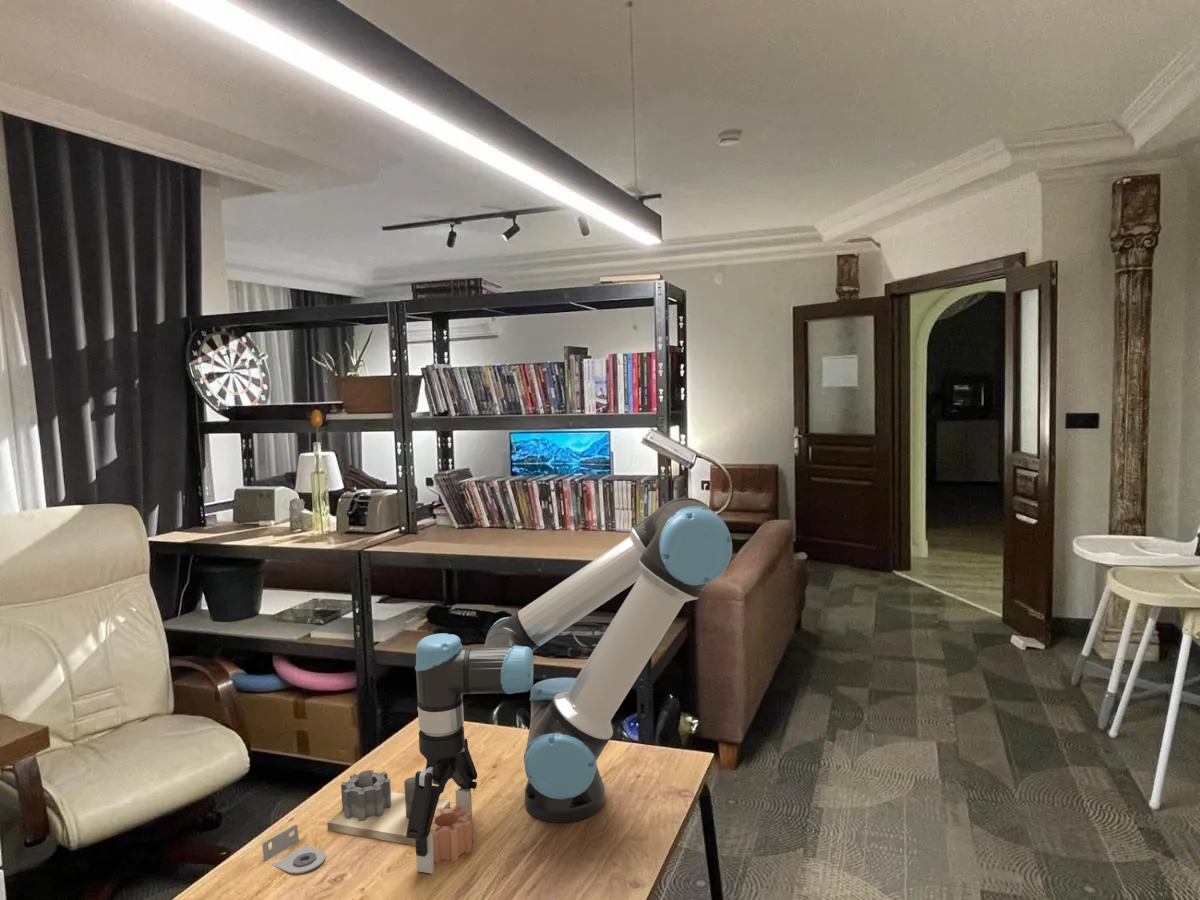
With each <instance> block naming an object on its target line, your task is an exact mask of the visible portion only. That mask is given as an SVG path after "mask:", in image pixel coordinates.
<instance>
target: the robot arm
mask: <svg viewBox="0 0 1200 900" xmlns="http://www.w3.org/2000/svg"><path fill="white" fill-rule="evenodd" d="M732 555H733V542H732V536H731V533H730V531H729V527H728V526H727V524H726V523H725V521H724V520H723V519H722V517H721V516H720V515H718V514H717V513H716V512H715V511H713V510H712V509H711V508H710V507H709V505H708V504H706V502H703V501H702V500H699V499H696V498H693V497H678V498H675V499H672V500H670V501H668V502H666V503H664V504H662V506H660V507H659V508H657V509H656V510H655V511H653V512H652V513H650V514H649V515H648V516H647V517H645V518H643V520H641V521H639V522H638V523H637V524H635V525H634V526H633V527H631V530H630V535H629V536H627V537H626V538H625V539H623V540H622V541H620V542H619V543H617V544H616V545H615V546H612V547H611V548H610V549H609V550H607V551H605V552H604V553H602V554H601V555H600V556H598V557H597V558H595V559H593V560H592V561H591V562H590V563H589V562H588V563H587V564H586V565H585V566H583V567H582V568H580V569H579V570H577V571H576V572H575V573H573V574H571V575H570V576H569V577H567V578H566V579H564V580H562V582H561V581H560V582H559V583H558V584H556V586H554V587H552V588H550V589H549V590H547V592H545V593H543V594H542V595H541V596H539V597H537V598H536V599H535V600H533V601H532V602H530V603H528V604H527V605H526V606H524V607H523V608H521V609H520V610H518V611H517V612H516V613H514V614H512V615H510V616H507V617H502V618H500V619H498V620H496V622H494V623H493V625H492V626H491V627H490V628H489V630H488V632H487V634H486V638H485V641H484V645H483V647H463V644H462V640H461V638H460V637H459V636H458V635H456V634H452V633H451V634H450V633H444V632H443V633H434V634H430V635H427V636H424V637H423V638H421V639H420V640H419V641H418V642H417V644H416V650H415V651H416V652H415V654H416V655H415V666H414V670H415V675H416V676H415V677H416V693H417V694H416V695H417V696H416V697H417V713H418V714H417V715H418V716H417V717H418V728H419V731H418V744H419V745H418V750H419V753H420V754H421V755H422V756H423V757H424V758H425V760H426V763H425V764H426V765H425V770H423V771H421V770H420V771H419V770H418V771H416V773H415V776H414V777H415V790H414V795H413V801H412V806H411V811H410V817H409V822H408V828H407V833H406V837H407V838H411V839H415V843H416V846H415V854H416V871H417V872H420V873H421V872H422V873H425V874H431V875H432V874H433V873H434V872H435V862H434V857H433V833H430V829H431V825H432V822H433V818H434V814H435V811H436V807H437V803H438V800H439V799H440V796H441V794H442V793H444V791H445V788H446V784H447V783H448V781H449V780H451V779H452V780H453V782H454V783H455V785H457V788H456V789H455V806H460V807H461V811H463V812H468V811H470V812H471V814H472V815H473V812H472V811H473V809H472V808H473V807H472V806H473V805H472V804H473V803H472V790H475V789H477V786H478V782H477V781H476V780H477V778H478V772H477V769H476V766H475V765H474V760H473V758H472V756H471V753H470V750H469V743H468V742H469V741H468V738H465V727H464V724H465V718H464V697H463V695H475V694H481V695H482V694H507V695H513V694H517V693H526V692H529V691H530V697H529V701H530V722H529V723H530V724H529V729H528V736H527V742H526V748H525V751H524V754H523V763H524V772H525V775H526V778H527V782H526V785H525V788H524V806H525V809H526V810H527V811H528V812H529V814H530V815H532V816H533V817H535V818H536V819H538V820H539V819H540V820H542V821H545V822H551V823H563V824H564V823H573V822H578V821H582V820H584V819H587V818H590V817H591V816H593V815H596V814H597V813H598V812H600V810H601V809H602V808H603V806H604V804H605V802H606V795H605V794H606V788H605V783H604V782H603V779H602V774H600V770H599V767H598V765H597V760H598V759H599V757H600V756H601V754H602V752H603V751H604V750H605V748H606V746H607V745H608V743H609V741H610V739H612V737H613V735H614V730H613V726H612V719H613V718H614V716H615V714H616V712H617V711H618V710H619V708H620V706H621V705H622V703H623V702H624V700H625V699H626V697H627V695H628V694H629V693H630V690H631V688H632V687H633V686H634V684H635V682H636V681H637V679H638V678H639V676H640V675H641V673H642V671H643V669H644V668H645V667H646V665H647V663H648V662H649V660H650V659H651V657H652V655H653V654H654V652H655V650H656V649H657V647H658V646H659V644H660V643H661V641H662V639H663V638H664V636H665V635H666V633H667V631H668V629H669V628H670V627H671V625H672V623H673V621H674V620H675V619H676V617H677V616H678V614H679V612H680V611H681V609H682V608H683V606H684V604H685V603H687V602H690V601H694V600H698V599H699V597H700V596H701V595H702V593H703V591H704V590H705V588H706V587H707V585H708V584H709V583H711V582H713V581H715V580H716V579H718V578H719V577H721V575H723V573H724V572H725V571H726V570H727V568H728V566H729V564H730V562H731V559H732ZM634 583H635V584H634ZM633 584H634V585H633ZM632 585H633V587H632V588H631V590H630V591H629V593H628V595H627V596H626V598H625V599H624V601H623V602H622V605H621V606H620V607H619V609H618V610H617V612H616V614H615V615H614V616H613V619H612V620H611V622H610V624H609V625H608V626H607V628H606V630H605V631H604V633H603V634H602V636H601V638H600V640H599V641H598V643H597V645H596V646H595V648H594V649H593V651H592V652H591V654H590V656H589V657H588V658H587V661H586V662H585V664H584V666H583V667H582V669H580V672H579V674H578V675H577V676H576V677H555V678H547V679H544V680H543V679H542V680H541V681H538V682H536V683H535V684H534V653H533V652H534V651H535V650H536V649H538V648H540V647H541V646H542V645H544V644H546V643H547V642H549V640H552V639H553V638H555V637H556V636H557V635H558V634H560V633H562V632H563V631H565V630H567V629H568V628H570V626H572V625H573V624H575V623H577V622H578V621H580V620H581V619H583V618H584V617H586V616H587V615H589V614H590V613H592V612H593V611H595V610H596V609H597V608H599V607H600V606H602V605H604V604H605V603H607V602H608V601H610V600H611V599H612V598H614V597H615V596H617V595H618V594H620V593H621V592H623V591H625V590H626V589H628V588H629V587H631V586H632ZM474 780H475V781H474ZM471 789H472V790H471Z"/></svg>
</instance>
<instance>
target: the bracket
mask: <svg viewBox="0 0 1200 900" xmlns="http://www.w3.org/2000/svg"><path fill="white" fill-rule="evenodd" d="M292 832H294V833H293V834H292V835H290V833H292ZM289 835H290V836H289ZM299 841H300V839H299V830H298V825H297V824H294V825H292V826H290V827H288V828H287V829H285V830H283V831H281V832H279V833H277V834H276V835H274V836H272V837H270V838H268V839H267V840H265V841H263V842H262V844H261V846H262V854H263V856H262V857H263V861H267V860H269V859H271V858H273V857H275V856H276V855H278V854H280V853H281V852H283V851H285V850H287V849H289V848H290V847H292V846H294V845H295V844H296V843H298V842H299ZM270 843H271V848H269V847H270V846H269V844H270ZM326 858H327V855H326V853H325V851H324V850H321V849H319V848H315V847H313V846H311V845H308V844H305V845H303V846H301V848H297V849H296V850H294V851H292V852H291V853H289V854H288V855H286V856H284V857H282V859H281V860H279V861H278V862H274V863H272V864H271V865H272V866H274V867H275V868H277V869H279V870H281V871H282V872H285V873H288V874H290V875H291V874H292V875H298V874H304V873H307V872H309V871H312V870H314V869H316V868H318V867H320V866H321V865H322V864H323V863H324V862H325V860H326Z"/></svg>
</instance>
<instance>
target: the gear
mask: <svg viewBox="0 0 1200 900" xmlns="http://www.w3.org/2000/svg"><path fill="white" fill-rule="evenodd" d="M436 811H437V812H435V814H434V818H433V822H432V825H431V829H430V833H433V857H434V864H435V863H436V864H439V863H440V861H444V860H447V861H448V860H450V861H451V863H454V862H456V861H459V857H460V856H462V854H465V853H466V854H470V852H471V851H472V850H473V843H472V842H473V841H474V836H473V813H472V814H471V812H470V811H468V812H463V811H461V807H460V806H456V805H455V806H454V807H452V808H451V807H450V809H444V808H443V807H440V808H436Z"/></svg>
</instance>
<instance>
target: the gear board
mask: <svg viewBox="0 0 1200 900" xmlns="http://www.w3.org/2000/svg"><path fill="white" fill-rule="evenodd" d="M403 782H404V793H400V792H393V791H391V789H392V788H391V787H392V786H391V778H388V773H387V772H386V771H382V772H374V769H370V770H364V771H360V772H359V773H358V774H357V773H353V774H350V775H349V780H348V781H343V782H341V784H340V787H341V789H340V790H341V791H340V792H341V806H342V807H341V808H342V809H341V810H340V811H338V813H336V814H335V815H334V816H333V817H332V818H331V819H329V820H328V821H327V824H326V826H327V831H330V832H334V833H340V834H341V833H342V834H345V835H346V834H347V835H352V836H356V837H358V836H359V837H364V838H369V839H373V840H375V839H376V840H382V841H387V842H392V843H398V844H404V845H409V846H414V847H416V843H415V839H411V838H407V837H406V833H407V828H408V822H409V817H410V811H411V806H412V801H413V795H414V790H415V776H414V777H413V776H412V777H408V778H406V779H405V780H404V781H403ZM450 802H451V801H450V800H448V799H447V800H445V799H440V798H439V800H438V803H437V807H436V808H440V807H443V808H444V809H451V803H450ZM435 812H437V811H435Z"/></svg>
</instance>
